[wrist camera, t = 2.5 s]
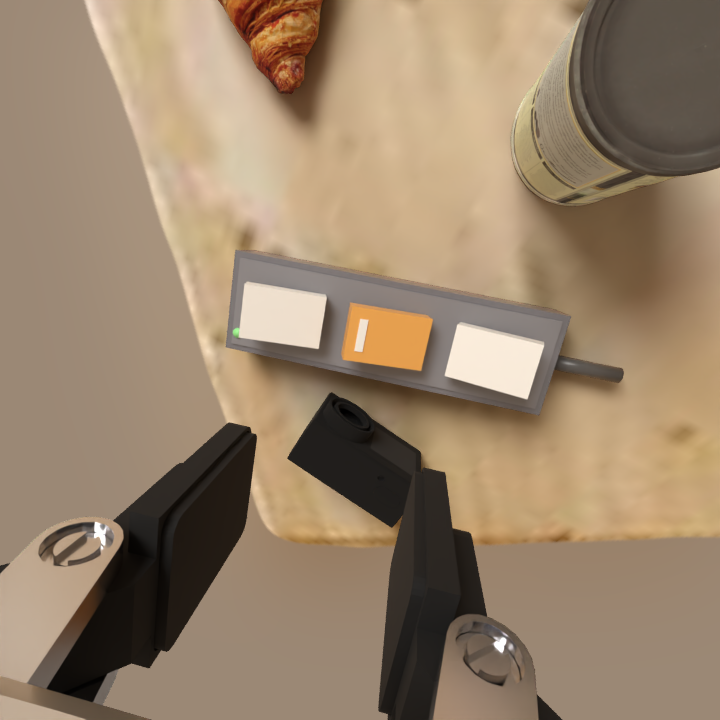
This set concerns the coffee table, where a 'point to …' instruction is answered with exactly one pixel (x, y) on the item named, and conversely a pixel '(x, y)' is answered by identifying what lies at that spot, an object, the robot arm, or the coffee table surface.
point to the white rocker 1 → (282, 315)
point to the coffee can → (623, 102)
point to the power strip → (413, 298)
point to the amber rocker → (386, 337)
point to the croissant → (277, 35)
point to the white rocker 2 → (494, 359)
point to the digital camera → (358, 458)
